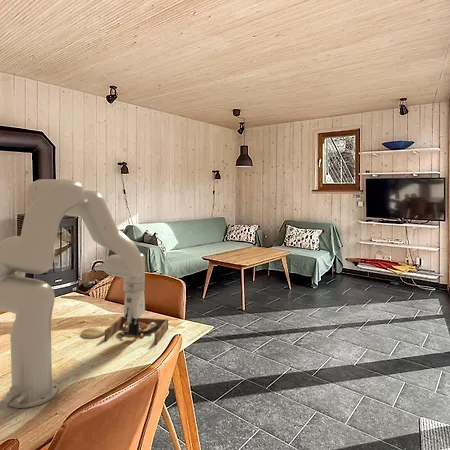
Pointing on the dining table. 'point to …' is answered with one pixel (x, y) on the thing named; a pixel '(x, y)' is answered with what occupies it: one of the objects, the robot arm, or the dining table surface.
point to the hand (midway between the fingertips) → (133, 334)
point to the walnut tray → (160, 323)
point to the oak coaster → (93, 332)
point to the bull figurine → (142, 327)
